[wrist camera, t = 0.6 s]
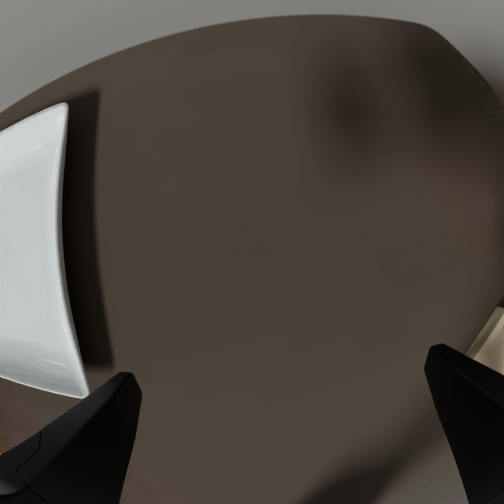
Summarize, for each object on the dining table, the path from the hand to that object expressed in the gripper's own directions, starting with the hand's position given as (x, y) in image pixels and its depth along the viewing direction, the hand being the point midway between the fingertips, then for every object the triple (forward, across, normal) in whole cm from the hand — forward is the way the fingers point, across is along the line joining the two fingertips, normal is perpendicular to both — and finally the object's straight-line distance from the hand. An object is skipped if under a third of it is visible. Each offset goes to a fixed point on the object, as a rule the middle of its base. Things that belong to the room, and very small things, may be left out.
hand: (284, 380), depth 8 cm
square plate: (+17, +30, 0) cm, 34 cm away
